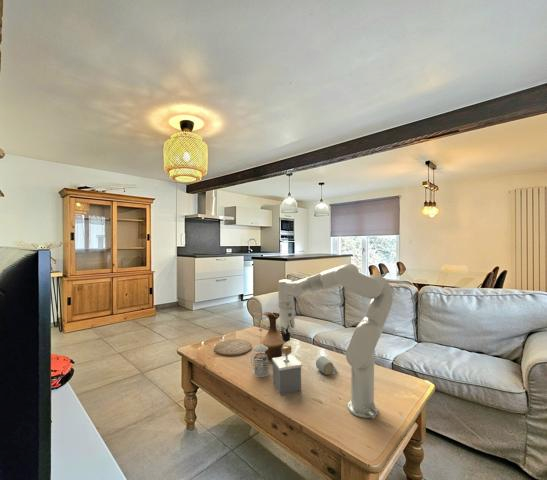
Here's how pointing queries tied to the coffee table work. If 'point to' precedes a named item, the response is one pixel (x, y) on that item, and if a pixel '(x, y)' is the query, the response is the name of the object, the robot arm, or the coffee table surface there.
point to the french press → (260, 361)
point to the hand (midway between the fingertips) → (286, 340)
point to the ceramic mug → (325, 365)
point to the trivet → (233, 347)
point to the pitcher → (273, 337)
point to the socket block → (286, 374)
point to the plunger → (286, 351)
